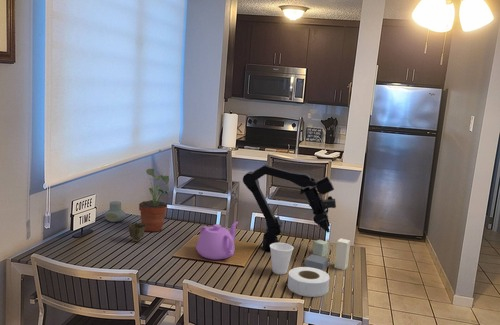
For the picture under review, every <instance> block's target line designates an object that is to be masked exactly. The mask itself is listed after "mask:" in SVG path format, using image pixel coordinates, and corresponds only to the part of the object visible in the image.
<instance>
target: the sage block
mask: <svg viewBox="0 0 500 325" xmlns="http://www.w3.org/2000/svg"><path fill="white" fill-rule="evenodd" d="M329 244H330V243H329V241H326V240H322V239H318V240H315V241H313V248H312V249H313V250H312V254H313V255H317V256H322V257H325V256H327V255H328V252H329Z"/></svg>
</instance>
